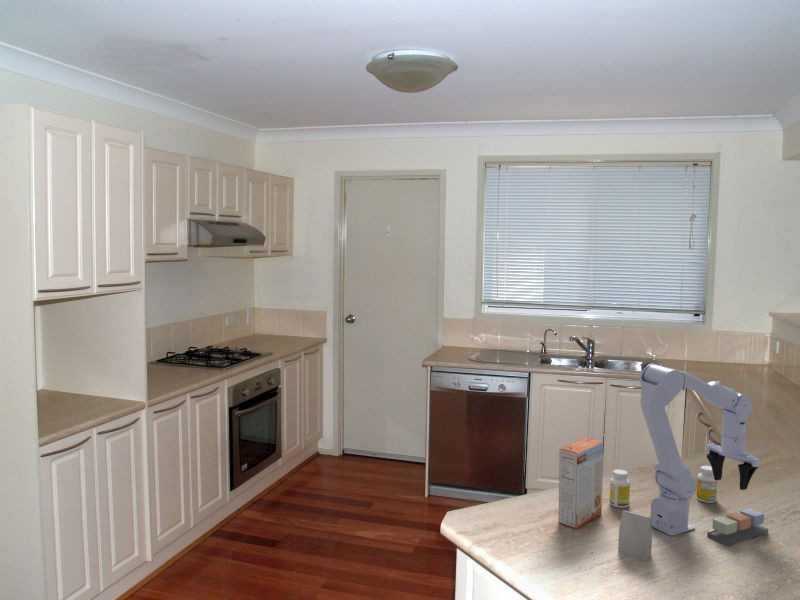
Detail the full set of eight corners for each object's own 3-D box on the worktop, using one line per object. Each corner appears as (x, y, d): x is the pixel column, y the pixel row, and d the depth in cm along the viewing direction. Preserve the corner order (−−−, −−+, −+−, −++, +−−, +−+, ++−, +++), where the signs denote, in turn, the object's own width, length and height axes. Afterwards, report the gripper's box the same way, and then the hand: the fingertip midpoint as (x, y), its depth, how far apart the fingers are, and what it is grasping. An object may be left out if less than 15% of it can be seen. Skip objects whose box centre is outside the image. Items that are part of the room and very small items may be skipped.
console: (728, 546, 161) (728, 540, 161) (707, 536, 166) (707, 530, 166) (767, 533, 168) (768, 527, 168) (746, 524, 174) (746, 518, 174)
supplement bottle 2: (699, 494, 194) (700, 463, 193) (718, 499, 191) (720, 467, 190) (694, 500, 190) (695, 468, 189) (713, 505, 186) (715, 472, 185)
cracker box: (582, 508, 183) (585, 436, 182) (602, 514, 179) (605, 441, 177) (556, 522, 174) (558, 447, 172) (576, 530, 169) (578, 452, 167)
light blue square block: (754, 526, 167) (754, 516, 167) (739, 520, 171) (740, 510, 170) (763, 523, 169) (764, 513, 169) (749, 517, 172) (749, 508, 172)
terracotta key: (740, 530, 164) (741, 520, 164) (726, 524, 168) (726, 514, 168) (750, 527, 166) (750, 517, 166) (736, 521, 170) (736, 511, 170)
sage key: (726, 534, 162) (727, 525, 162) (712, 528, 165) (712, 518, 165) (736, 531, 164) (737, 521, 164) (722, 525, 167) (723, 515, 167)
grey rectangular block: (646, 560, 153) (647, 520, 153) (618, 552, 158) (619, 512, 157) (651, 555, 156) (653, 515, 155) (623, 546, 161) (625, 507, 160)
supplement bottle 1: (632, 504, 186) (633, 471, 185) (624, 510, 182) (625, 476, 181) (614, 499, 190) (615, 467, 189) (606, 504, 186) (607, 471, 185)
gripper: (768, 441, 170) (764, 490, 172) (718, 427, 183) (715, 473, 184) (751, 444, 167) (748, 495, 168) (702, 430, 180) (699, 477, 181)
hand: (730, 484), depth 176 cm, fingers open, 7 cm apart
